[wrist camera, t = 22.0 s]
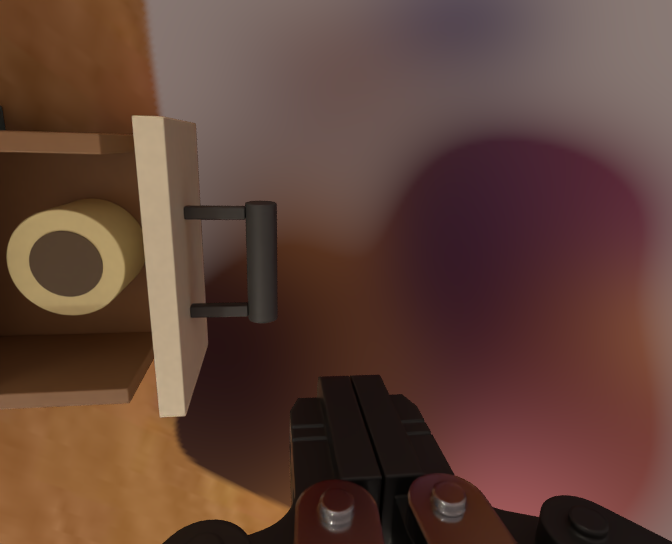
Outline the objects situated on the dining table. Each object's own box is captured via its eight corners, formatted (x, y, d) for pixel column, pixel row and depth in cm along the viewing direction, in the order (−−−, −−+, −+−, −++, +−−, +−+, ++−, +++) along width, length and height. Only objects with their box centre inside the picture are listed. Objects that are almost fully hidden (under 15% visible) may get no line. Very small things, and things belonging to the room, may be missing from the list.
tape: (39, 197, 24) (-5, 208, 20) (142, 198, 25) (118, 209, 21) (54, 290, 25) (15, 317, 21) (151, 289, 26) (129, 314, 22)
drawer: (275, 125, 26) (276, 120, 18) (277, 342, 29) (278, 411, 22) (-99, 113, 23) (-276, 100, 16) (-44, 352, 27) (-166, 435, 19)
